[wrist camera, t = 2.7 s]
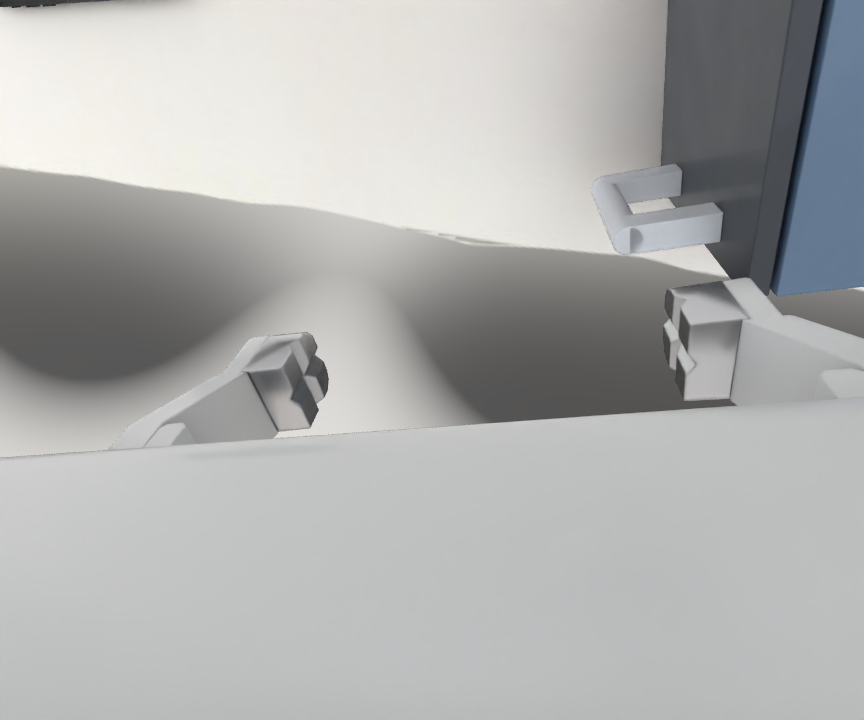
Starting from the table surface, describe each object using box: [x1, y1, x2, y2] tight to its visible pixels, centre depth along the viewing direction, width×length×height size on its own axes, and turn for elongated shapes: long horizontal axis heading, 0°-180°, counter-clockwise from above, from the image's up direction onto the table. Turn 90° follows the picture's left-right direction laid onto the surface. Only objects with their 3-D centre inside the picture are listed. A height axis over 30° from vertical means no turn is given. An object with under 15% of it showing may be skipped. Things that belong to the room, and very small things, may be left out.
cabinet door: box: [591, 0, 823, 296], centre depth 26 cm, size 6×16×17 cm, turn 12°
